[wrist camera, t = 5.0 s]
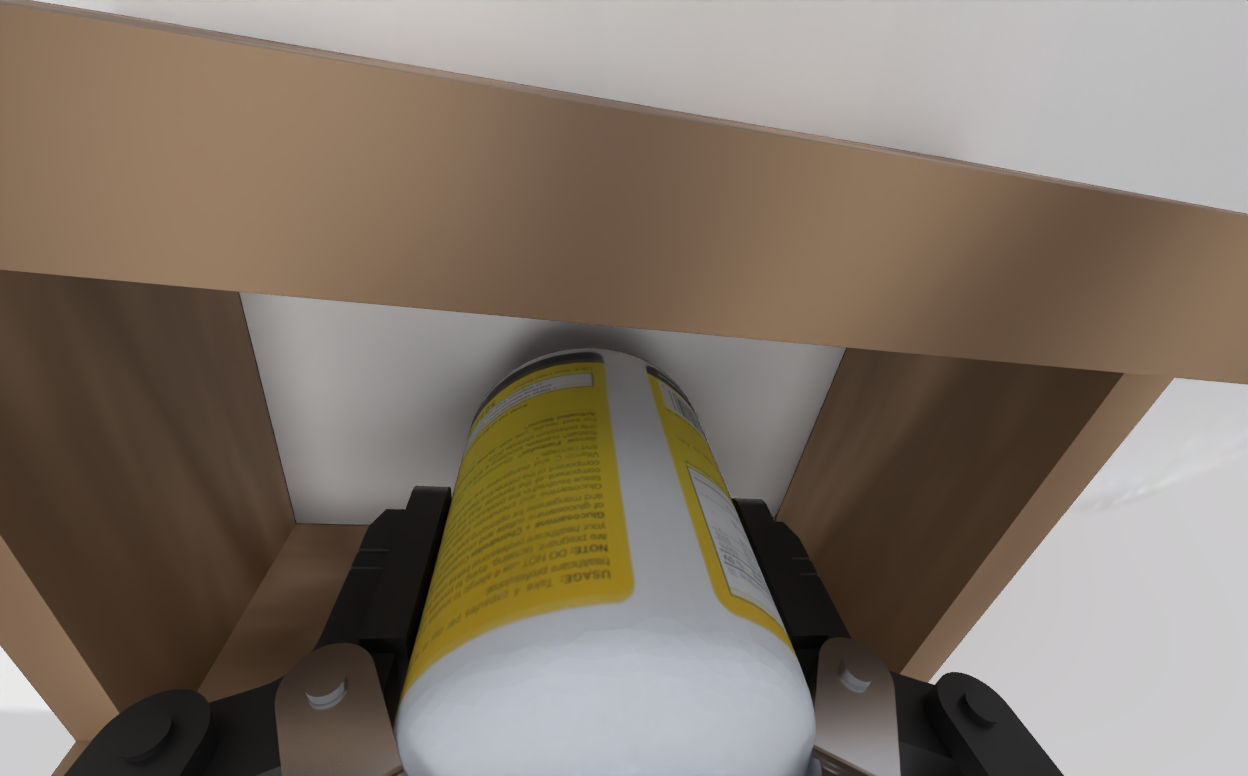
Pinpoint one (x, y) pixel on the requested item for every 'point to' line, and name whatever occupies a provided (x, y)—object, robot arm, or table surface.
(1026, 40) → the table surface
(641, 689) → the pill bottle
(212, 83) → the crate
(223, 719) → the robot arm
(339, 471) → the table surface
